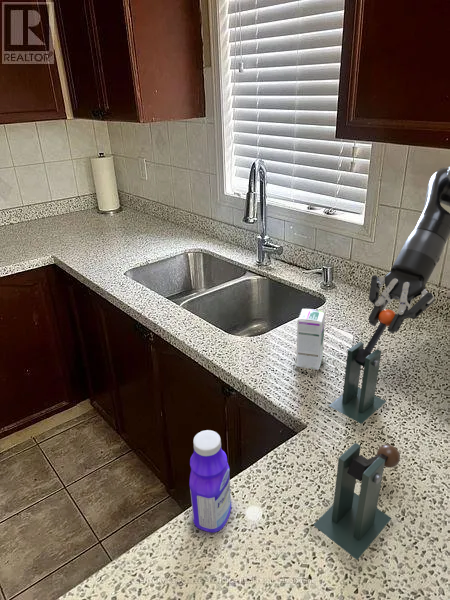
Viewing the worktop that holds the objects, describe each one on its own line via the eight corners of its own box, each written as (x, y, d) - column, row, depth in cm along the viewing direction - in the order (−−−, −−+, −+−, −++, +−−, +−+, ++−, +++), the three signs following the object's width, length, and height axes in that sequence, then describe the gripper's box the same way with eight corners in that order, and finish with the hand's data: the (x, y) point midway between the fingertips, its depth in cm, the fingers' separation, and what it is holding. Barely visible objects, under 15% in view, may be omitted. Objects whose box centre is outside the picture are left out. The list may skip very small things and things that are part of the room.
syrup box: (319, 374, 108) (323, 321, 101) (294, 370, 109) (297, 318, 103) (322, 361, 113) (326, 310, 106) (299, 357, 114) (301, 307, 108)
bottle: (221, 542, 70) (216, 461, 62) (187, 532, 72) (179, 451, 64) (236, 504, 76) (233, 426, 68) (205, 495, 78) (199, 418, 70)
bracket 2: (348, 493, 77) (356, 428, 70) (390, 523, 72) (404, 455, 65) (312, 530, 71) (318, 462, 64) (356, 565, 66) (367, 495, 59)
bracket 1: (353, 389, 102) (360, 333, 96) (385, 405, 97) (395, 348, 90) (327, 410, 96) (333, 352, 90) (360, 428, 91) (368, 368, 84)
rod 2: (379, 457, 76) (386, 438, 75) (399, 469, 73) (406, 450, 73) (341, 473, 66) (349, 452, 66) (363, 488, 64) (371, 465, 63)
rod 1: (385, 312, 96) (382, 303, 93) (401, 317, 93) (398, 309, 91) (354, 363, 93) (350, 356, 90) (370, 370, 91) (365, 363, 88)
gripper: (382, 240, 95) (345, 310, 94) (449, 256, 86) (408, 335, 85) (392, 256, 101) (357, 322, 100) (456, 273, 91) (418, 347, 90)
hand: (381, 328), depth 92 cm, fingers closed on rod 1, 3 cm apart
